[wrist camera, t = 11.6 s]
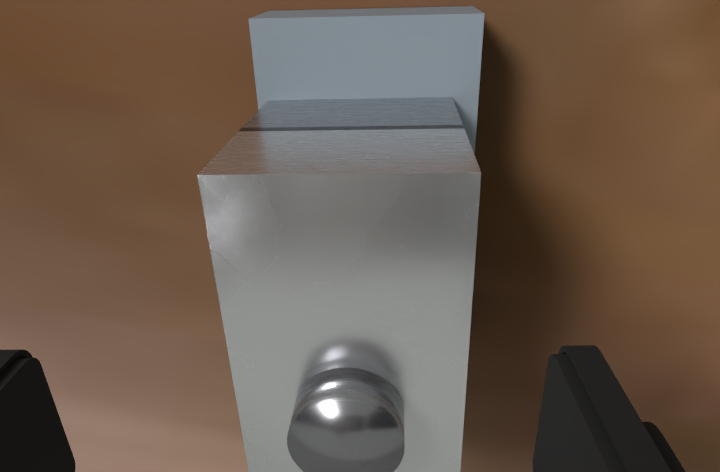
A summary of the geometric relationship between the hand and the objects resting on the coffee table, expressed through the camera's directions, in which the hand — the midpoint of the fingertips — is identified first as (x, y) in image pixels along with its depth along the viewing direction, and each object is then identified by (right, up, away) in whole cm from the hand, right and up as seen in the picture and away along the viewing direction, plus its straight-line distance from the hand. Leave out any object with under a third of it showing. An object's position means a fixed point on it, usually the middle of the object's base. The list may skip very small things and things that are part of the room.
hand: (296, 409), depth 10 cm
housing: (+1, +3, +6) cm, 7 cm away
